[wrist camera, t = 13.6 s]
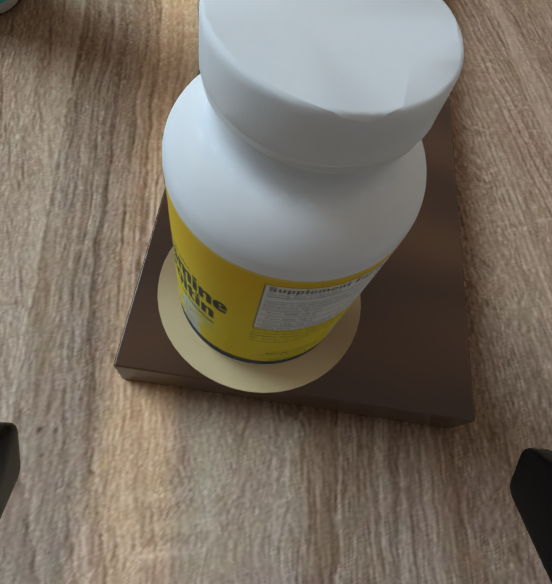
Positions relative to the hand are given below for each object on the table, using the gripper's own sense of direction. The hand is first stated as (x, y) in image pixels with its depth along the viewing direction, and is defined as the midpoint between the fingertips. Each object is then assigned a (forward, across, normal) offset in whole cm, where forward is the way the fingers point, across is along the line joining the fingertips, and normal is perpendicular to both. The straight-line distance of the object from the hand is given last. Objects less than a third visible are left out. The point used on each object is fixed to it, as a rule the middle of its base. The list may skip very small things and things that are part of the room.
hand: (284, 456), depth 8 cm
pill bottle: (+11, 0, +1) cm, 11 cm away
